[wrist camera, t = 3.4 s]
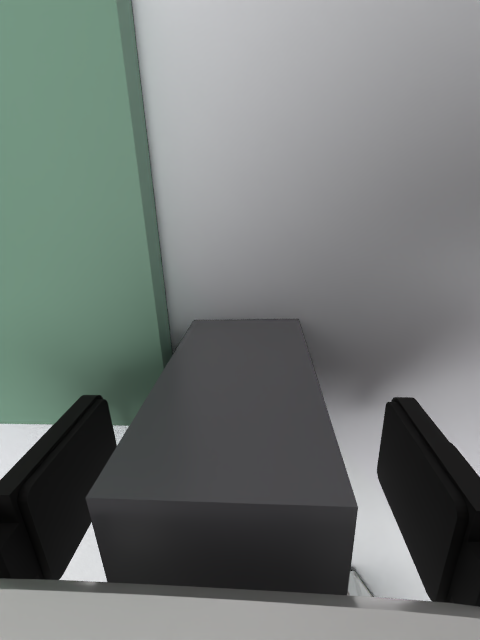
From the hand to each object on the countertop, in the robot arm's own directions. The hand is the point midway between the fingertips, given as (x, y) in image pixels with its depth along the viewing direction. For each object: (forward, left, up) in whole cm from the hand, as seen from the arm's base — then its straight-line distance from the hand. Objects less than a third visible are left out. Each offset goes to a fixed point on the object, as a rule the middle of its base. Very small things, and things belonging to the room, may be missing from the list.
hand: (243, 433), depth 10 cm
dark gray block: (0, 0, -3) cm, 3 cm away
